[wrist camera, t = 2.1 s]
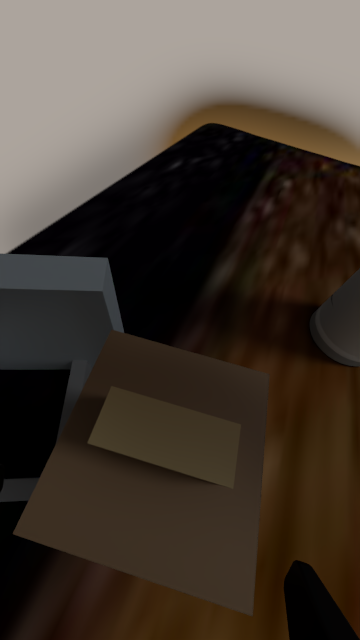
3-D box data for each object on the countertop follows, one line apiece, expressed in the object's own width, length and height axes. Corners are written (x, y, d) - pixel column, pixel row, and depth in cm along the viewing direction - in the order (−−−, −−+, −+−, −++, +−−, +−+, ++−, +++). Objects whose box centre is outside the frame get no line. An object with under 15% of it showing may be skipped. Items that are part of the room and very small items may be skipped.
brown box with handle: (184, 513, 15) (279, 658, 4) (107, 489, 15) (-24, 551, 4) (201, 428, 18) (288, 358, 6) (135, 408, 18) (105, 308, 7)
